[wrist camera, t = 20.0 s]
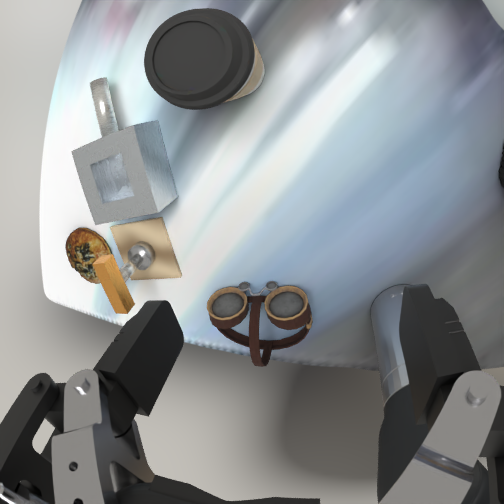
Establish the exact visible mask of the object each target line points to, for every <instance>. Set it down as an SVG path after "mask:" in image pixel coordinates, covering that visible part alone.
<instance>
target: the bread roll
mask: <svg viewBox="0 0 504 504" xmlns="http://www.w3.org/2000/svg"><path fill="white" fill-rule="evenodd" d="M66 252H67V256H68V259H69V262H70V264H71V267H72V268H75V270H76V271H78V272H79V273H80V275H81V276H82V277H83V278H84V279H86V280H87V281H89V282H91V283H95V284H99V283H101V282H100V280H99V278H98V276H97V273H96V271H95V269H94V267H93V265H92V264H93V263H94V262H95V261H96V260H97V259H98V258H99V257H101V256H103V255H111V253H110V250H109V247H108V245H107V243H106V242H105V240H104V239H103V238H102V237H101V236H100V235H98V234H97V233H96V232H94V231H92V230H89V229H87V228H78V229H76V230H74V231H73V232H72V233H71V234H70V236H69V237H68V239H67V241H66Z"/></svg>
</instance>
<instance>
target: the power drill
mask: <svg viewBox="0 0 504 504" xmlns="http://www.w3.org/2000/svg"><path fill="white" fill-rule="evenodd" d="M503 149H504V148H503ZM502 154H503V157H502V162H501V165H502V167H500V170H499V172H500V179H501V184H502V186H503V187H504V151H503V153H502Z"/></svg>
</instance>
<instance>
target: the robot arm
mask: <svg viewBox="0 0 504 504" xmlns="http://www.w3.org/2000/svg"><path fill="white" fill-rule="evenodd" d="M370 315H371V320H372V326H373V332H374V338H375V345H376V351H377V358H378V365H379V372H380V380H381V388H382V395H383V406H384V420H383V423H382V425H381V429H380V434H379V452H378V479H377V496H378V504H504V386H500V385H499V384H498V382H497V381H496V379H495V378H494V377H493V376H492V375H490V374H488V373H486V372H483V371H481V369H480V366H479V364H478V361H477V359H476V356H475V354H474V352H473V349H472V347H471V344H470V342H469V340H468V338H467V335H466V333H465V332H464V329H463V327H462V324H461V322H459V318H458V316H457V314H456V312H455V310H454V308H453V307H452V306H451V305H450V304H449V303H448V302H446V301H445V300H444V299H443V298H440V299H434V297H433V294H432V292H431V290H430V288H429V286H428V285H427V284H422V285H414V286H412V285H397V286H393V287H391V288H388V289H387V290H385V291H383V292H382V293H381V294H380V295H378V297H377V298H376V299H375V300H374V302H373V304H372V307H371V313H370ZM183 343H184V336H183V332H182V330H181V327H180V325H179V323H178V321H177V318H176V316H175V314H174V311H173V309H172V307H171V305H170V303H169V302H168V301H166V300H163V301H147V302H146V303H145V304H144V305H143V307H142V308H141V309H140V311H139V312H138V313H137V314H136V315H135V316H134V317H132V318H131V319H130V320H129V321H127V322H126V324H125V325H124V326H123V328H122V329H121V331H120V334H118V335H117V336H116V337H115V339H114V342H112V343H111V345H110V346H109V347H108V349H107V350H106V352H105V353H104V354H103V356H102V357H101V359H100V360H99V362H98V363H97V365H96V366H95V367H94V369H93V370H90V369H85V370H81V371H79V372H77V373H75V374H74V375H73V376H72V377H71V378H70V379H69V380H68V381H67V383H55V382H54V381H53V380H52V379H51V377H50V376H49V375H48V374H46V373H40V374H37V375H35V376H34V377H32V378H31V379H30V380H29V381H28V383H27V384H26V386H25V387H24V388H23V390H22V391H21V393H20V395H19V396H18V398H17V399H16V400H15V402H14V404H13V405H12V406H11V408H10V410H9V411H8V413H7V414H6V416H5V418H4V419H3V421H2V422H1V424H0V504H320V499H305V498H304V499H303V498H281V497H272V498H264V499H254V500H244V501H225V500H223V499H220V498H218V497H216V496H213V495H211V494H209V493H207V492H205V491H203V490H201V489H199V488H197V487H195V486H193V485H191V484H188V483H183V482H180V481H175V480H172V479H168V478H165V477H161V476H158V475H155V474H154V473H153V472H152V470H151V469H150V467H149V465H148V463H147V460H146V457H145V453H144V449H143V446H142V442H141V438H140V434H139V431H138V426H137V423H136V421H135V420H134V417H135V415H136V414H140V415H145V416H149V415H150V413H151V411H152V409H153V406H154V404H155V402H156V400H157V398H158V396H159V394H160V392H161V390H162V388H163V386H164V384H165V382H166V380H167V377H168V376H169V373H170V372H171V370H172V368H173V365H174V363H175V361H176V359H177V357H178V355H179V353H180V351H181V349H182V347H183ZM44 418H45V419H47V421H48V422H50V423H51V424H52V425H53V426H54V427H55V430H54V431H53V433H52V435H51V437H50V439H49V441H48V443H47V444H46V446H45V448H44V450H43V452H42V453H41V454H39V453H37V452H36V451H35V450H34V448H33V446H32V440H33V438H34V436H35V434H36V432H37V431H38V429H39V427H40V425H41V424H42V422H43V420H44ZM478 457H486V458H487V467H488V470H487V469H486V468H485V467H484V466H483V465H482V464H481V463H480V462H479V461H478ZM20 481H21V482H20Z"/></svg>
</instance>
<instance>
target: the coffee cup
mask: <svg viewBox="0 0 504 504" xmlns="http://www.w3.org/2000/svg"><path fill="white" fill-rule="evenodd" d="M144 67H145V72H146V76H147V79H148V81H149V83H150V85H151V86H152V88H153V89H154V90H155V91H156V92H157V93H158V94H159V95H160V96H161V97H162V98H164V99H165V100H167V101H168V102H170V103H171V104H173V105H175V106H178V107H181V108H185V109H192V110H198V109H206V108H211V107H214V106H217V105H219V104H221V103H225V102H228V101H231V100H234V99H238V98H241V97H243V96H246V95H248V94H250V93H252V92H253V91H255V90H256V89H257V88H258V87H259V86H260V84H261V83H262V81H263V78H264V73H265V68H264V63H263V61H262V58H261V55H260V53H259V51H258V49H257V47H256V45H255V43H254V41H253V39H252V37H251V34H250V32H249V30H248V29H247V27H246V26H245V25H244V24H243V23H242V22H241V21H240V20H239V19H238V18H236V17H235V16H233V15H232V14H230V13H228V12H225V11H222V10H218V9H209V8H206V9H192V10H187V11H184V12H181V13H178V14H176V15H174V16H172V17H171V18H169V19H168V20H166V21H165V22H164V23H162V24H161V25H160V26H159V27H158V28H157V30H156V31H155V32H154V34H153V35H152V37H151V38H150V40H149V42H148V45H147V48H146V51H145V57H144Z"/></svg>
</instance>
